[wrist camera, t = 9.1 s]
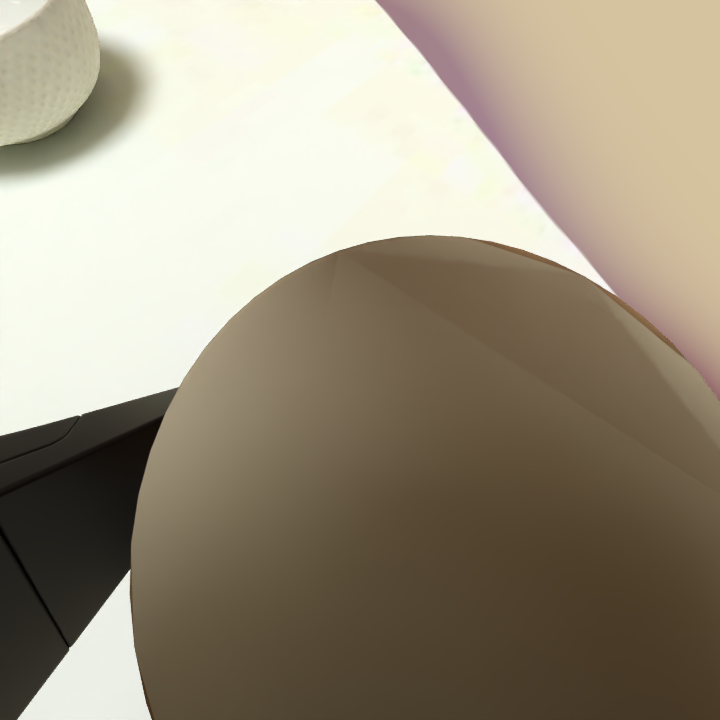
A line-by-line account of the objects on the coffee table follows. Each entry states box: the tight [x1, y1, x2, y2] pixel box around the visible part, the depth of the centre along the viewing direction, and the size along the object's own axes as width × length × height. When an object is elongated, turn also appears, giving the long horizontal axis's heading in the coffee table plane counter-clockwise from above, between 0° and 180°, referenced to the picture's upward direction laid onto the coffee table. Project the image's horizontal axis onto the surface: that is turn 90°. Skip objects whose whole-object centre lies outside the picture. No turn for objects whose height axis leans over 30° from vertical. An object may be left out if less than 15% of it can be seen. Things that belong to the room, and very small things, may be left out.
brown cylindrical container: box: [130, 235, 720, 720], centre depth 9 cm, size 6×6×13 cm
